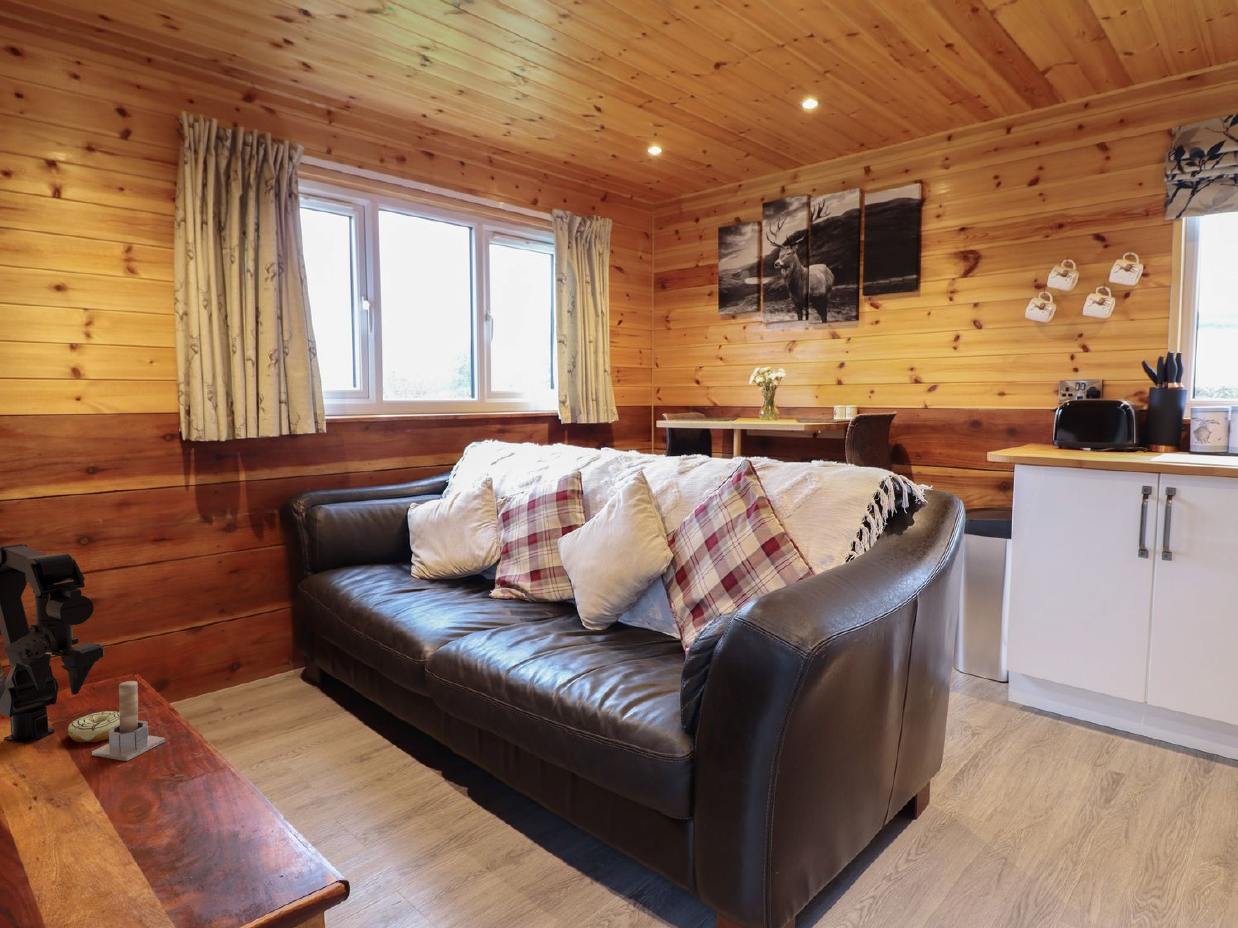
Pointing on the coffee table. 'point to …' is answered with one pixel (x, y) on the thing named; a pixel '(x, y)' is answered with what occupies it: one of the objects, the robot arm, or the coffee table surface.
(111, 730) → the cup bracket
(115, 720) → the decorated donut
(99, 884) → the coffee table surface
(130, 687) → the wooden post
